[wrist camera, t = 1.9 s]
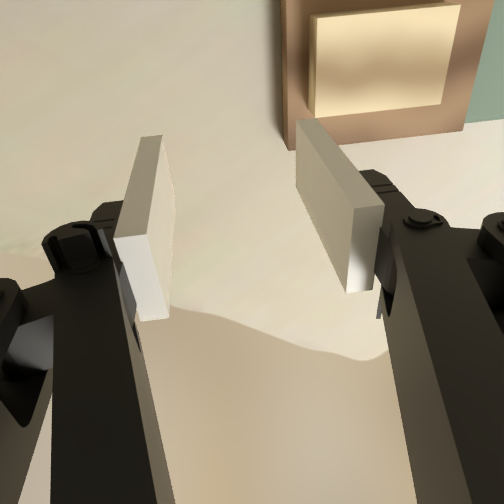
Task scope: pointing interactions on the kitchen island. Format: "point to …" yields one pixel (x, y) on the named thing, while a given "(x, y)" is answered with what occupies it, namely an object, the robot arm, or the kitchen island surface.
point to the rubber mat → (490, 72)
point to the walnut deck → (388, 121)
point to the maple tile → (379, 58)
